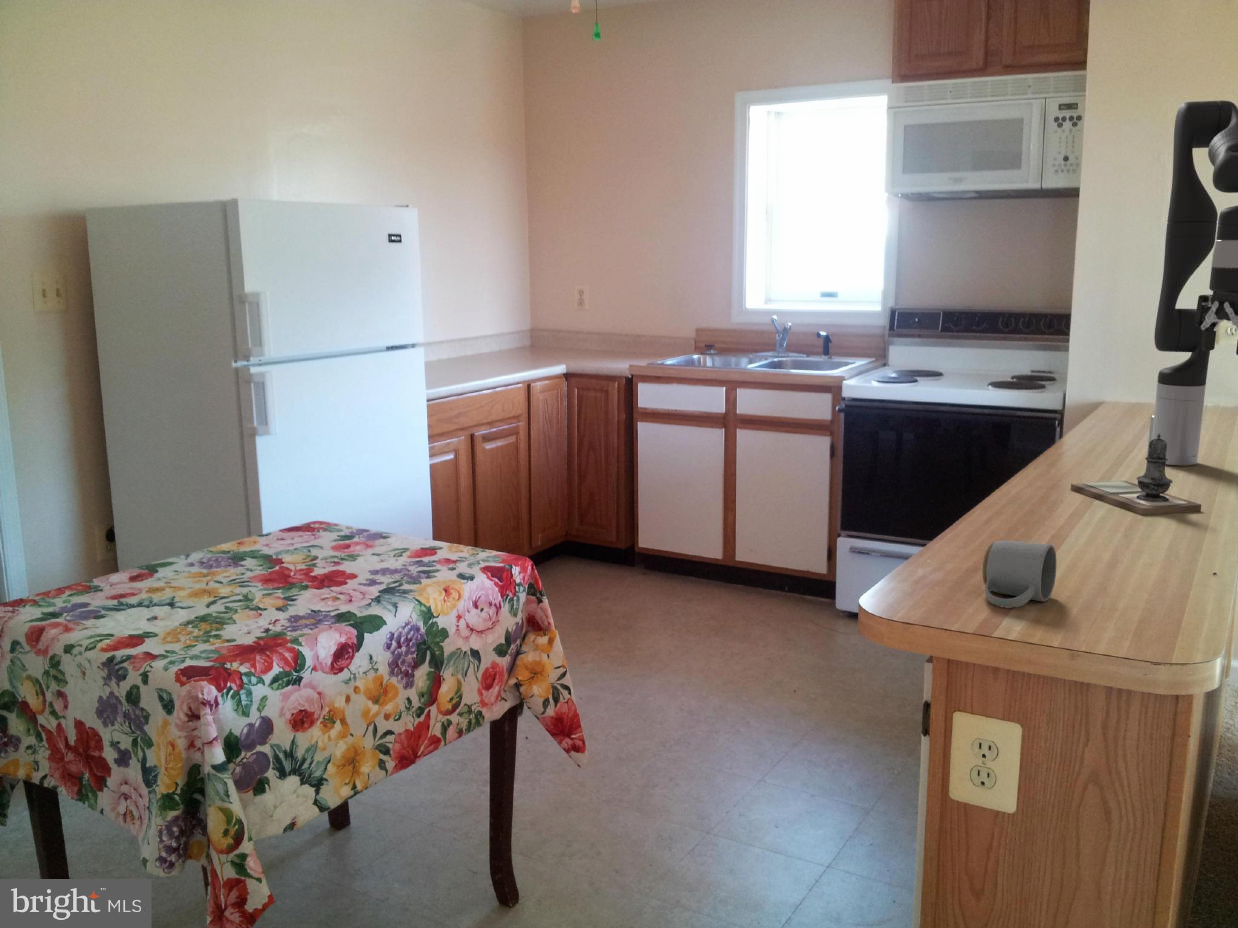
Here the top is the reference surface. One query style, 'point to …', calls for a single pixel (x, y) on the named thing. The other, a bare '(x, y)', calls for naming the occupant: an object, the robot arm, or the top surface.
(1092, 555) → the top surface
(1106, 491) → the board
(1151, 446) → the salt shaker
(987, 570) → the ceramic mug
